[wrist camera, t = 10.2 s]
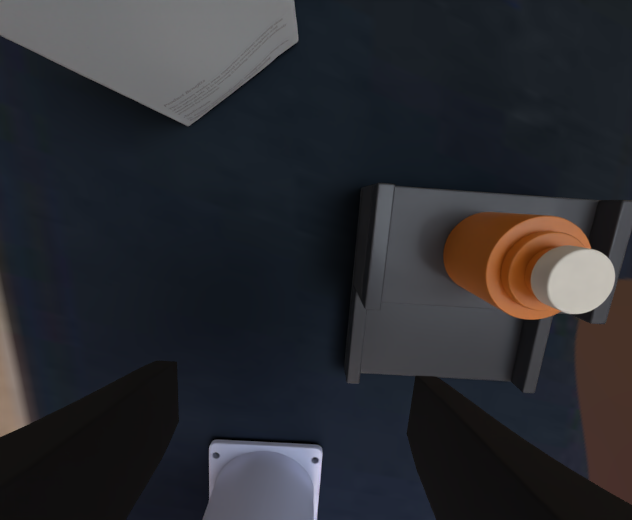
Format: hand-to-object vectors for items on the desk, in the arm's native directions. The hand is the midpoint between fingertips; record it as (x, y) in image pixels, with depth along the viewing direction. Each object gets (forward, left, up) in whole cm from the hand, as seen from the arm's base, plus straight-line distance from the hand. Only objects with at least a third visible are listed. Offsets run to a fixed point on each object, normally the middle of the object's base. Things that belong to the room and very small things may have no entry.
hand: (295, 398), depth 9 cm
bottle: (+4, -9, -7) cm, 12 cm away
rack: (+1, -9, -10) cm, 14 cm away
